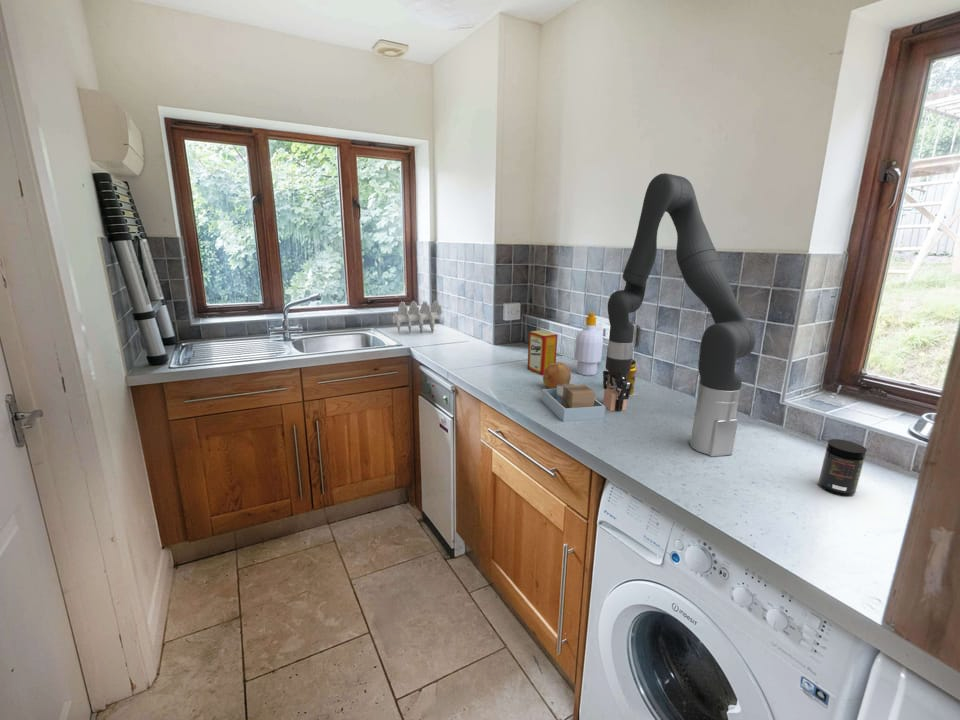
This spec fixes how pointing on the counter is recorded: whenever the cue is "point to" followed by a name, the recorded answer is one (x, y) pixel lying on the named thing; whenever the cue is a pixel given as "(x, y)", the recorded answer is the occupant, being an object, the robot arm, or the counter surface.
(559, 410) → the tote
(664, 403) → the counter surface
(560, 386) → the grey tin
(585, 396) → the walnut block
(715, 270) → the robot arm
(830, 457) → the supplement container
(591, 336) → the soap bottle
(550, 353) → the baking soda box
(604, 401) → the peach rectangular block
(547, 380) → the onion
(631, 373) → the condiment
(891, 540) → the counter surface
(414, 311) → the grey lumpy piece
